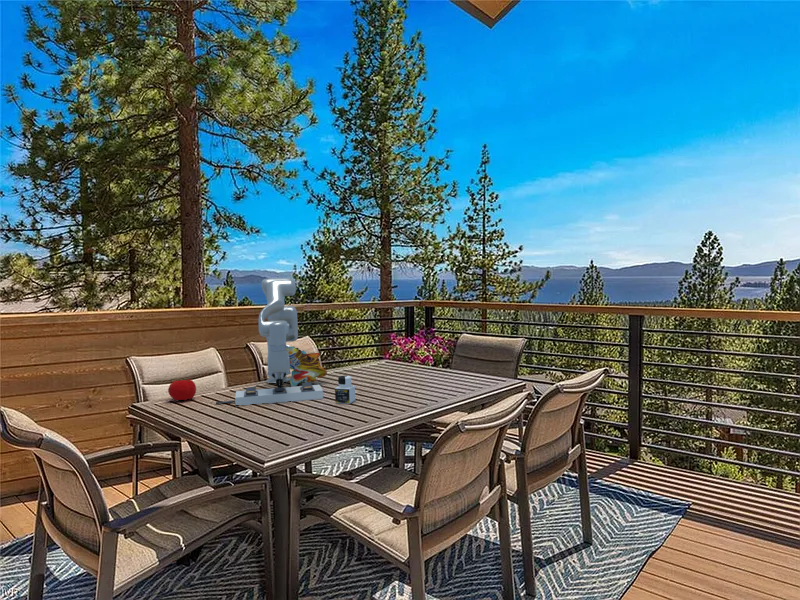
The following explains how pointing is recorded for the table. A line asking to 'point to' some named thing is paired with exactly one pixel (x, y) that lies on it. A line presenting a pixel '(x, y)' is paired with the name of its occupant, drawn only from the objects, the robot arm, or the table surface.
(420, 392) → the table surface
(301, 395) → the rocker switch panel
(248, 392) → the rocker
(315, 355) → the multicoloured irregular chunky piece
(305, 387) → the rocker
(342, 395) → the medicine bottle
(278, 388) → the rocker middle
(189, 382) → the tomato
